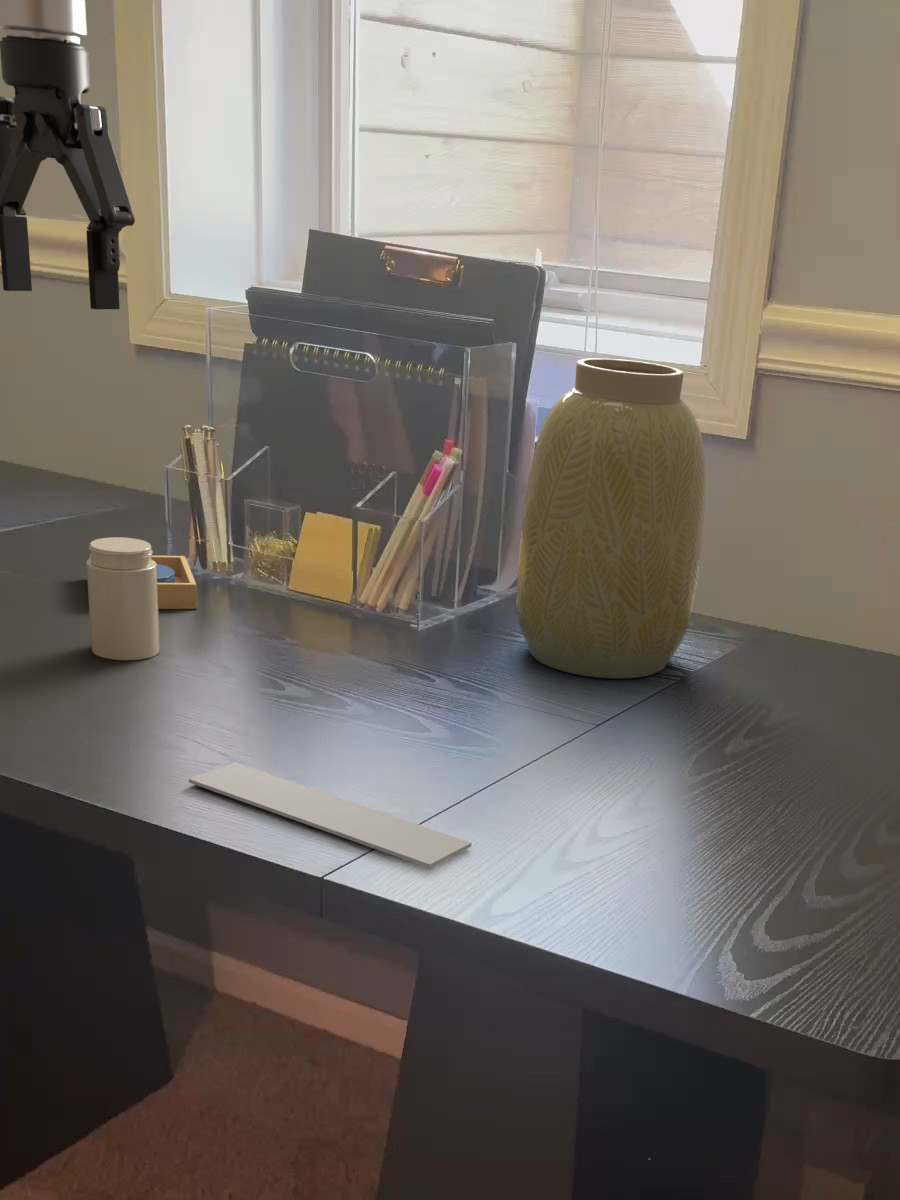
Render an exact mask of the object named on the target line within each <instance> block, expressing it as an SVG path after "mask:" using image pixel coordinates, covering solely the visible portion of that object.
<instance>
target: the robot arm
mask: <svg viewBox="0 0 900 1200" xmlns="http://www.w3.org/2000/svg"><path fill="white" fill-rule="evenodd" d="M0 29H1V30H4V31H5V36H2V37H1V40H0V65H1V78H2V80H3V82H4V84H5V85H7V86H10V87H13V89H14V97H8V96H0V264H1V276H2V277H1V278H2V289H3V291H5V292H33V284H32V271H31V270H32V269H31V256H30V241H29V228H28V217H27V216H26V215H27V212H26V209H24V207H23V206H24V204H25V202H26V199H27V197H28V195H29V192H30V189H31V187H32V185H33V183H34V180H35V177H36V175H37V172H38V170H39V168H40V165H41V163H42V162H43V161H45V160H46V159H49V158H50V159H54V160H55V161H56V162H57V163H58V164H59V165H61V166H62V167H63V169H64V171H65V173H66V175H67V177H68V179H69V181H70V183H71V185H72V187H73V189H74V191H75V193H76V195H77V197H78V199H79V201H80V203H81V206H82V207H83V209H84V211H85V214H86V216H87V218H88V220H89V223H88V225H87V226H86V231H85V232H86V233H85V234H86V249H87V251H86V252H87V265H88V266H87V269H88V270H87V271H88V287H89V304H90V305H89V306H90V307H89V308H90V309H91V310H120V307H121V306H120V286H119V271H120V268H121V267H120V266H121V258H120V257H121V256H120V232H122V230H123V229H124V228H126V227H132V226H134V225H135V222H136V216H135V213H134V210H133V207H132V203H131V201H130V197H129V194H128V191H127V187H126V184H125V181H124V178H123V175H122V171H121V168H120V165H119V162H118V158H117V155H116V152H115V150H114V146H113V143H112V140H111V139H112V138H111V136H110V129H109V121H108V120H109V118H108V113H107V109H106V107H104V106H101V105H93V104H82V98H81V97H82V96H81V95H82V94H87V93H89V92H90V90H91V72H90V54H89V52H90V51H89V50H87V47H86V46H84V45H81V39H86V38H87V36H88V26H87V9H86V0H0ZM117 208H118V209H119V210H117Z"/></svg>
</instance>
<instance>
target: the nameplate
mask: <svg viewBox="0 0 900 1200" xmlns="http://www.w3.org/2000/svg"><path fill="white" fill-rule="evenodd" d="M188 783H189V784H192V785H195V786H197V787H201V788H203V789H206V790H209V791H212V792H214V793H217V794H220V795H223V796H224V797H225V796H226V797H228V798H231V799H233V800H237V801H240V802H242V803H245V804H247V805H250V806H254V807H256V808H260V809H262V810H265V811H268V812H271V813H273V814H276V815H279V816H281V817H285V818H287V819H290V820H293V821H296V822H298V823H301V824H304V825H307V826H310V827H313V828H316V829H318V830H321V831H323V832H327V833H329V834H332V835H335V836H337V837H341V838H344V839H346V840H350V841H352V842H355V843H358V844H360V845H363V846H366V847H369V848H372V849H375V850H377V851H380V852H383V853H386V854H388V855H391V856H394V857H397V858H400V859H402V860H406V861H408V862H411V863H414V864H416V865H419V866H422V867H425V868H427V869H431V868H434V867H435V866H437V865H439V864H441V863H443V862H445V861H446V860H448V859H451V858H452V857H455V856H456V855H458V854H460V853H462V852H463V851H465V850H467V849H470V848H472V842H470V841H468V840H465V839H462V838H459V837H456V836H453V835H450V834H447V833H444V832H441V831H438V830H436V829H432V828H430V827H427V826H424V825H421V824H418V823H415V822H412V821H410V820H406V819H403V818H400V817H399V816H398V817H397V816H394V815H392V814H389V813H386V812H383V811H380V810H377V809H373V808H372V807H369V806H365V805H363V804H359V803H357V802H354V801H350V800H348V799H345V798H342V797H340V796H337V795H333V794H330V793H327V792H324V791H321V790H319V789H315V788H314V787H310V786H307V785H304V784H300V783H298V782H296V781H292V780H289V779H287V778H284V777H280V776H278V775H275V774H272V773H269V772H265V771H264V770H260V769H257V768H254V767H251V766H249V765H245V764H242V763H239V762H237V761H234V762H231V763H228V764H225V765H223V766H220V767H217V768H215V769H212V770H209V771H207V772H203V773H200V774H198V775H195V776H192V777H189V778H188Z"/></svg>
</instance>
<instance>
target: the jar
mask: <svg viewBox="0 0 900 1200" xmlns="http://www.w3.org/2000/svg"><path fill="white" fill-rule="evenodd" d="M88 550H89V552H90V553H89V556H90V555H91V558H90V557H89V558H87V560H86V562H85V565H86V567H85V568H86V581H87V582H86V583H87V598H88V613H89V614H88V615H89V630H90V631H89V632H90V634H89V635H90V647H91V652H92V654H93V655H95V656H97V657H100V658H103V659H108V660H113V661H140V660H147V659H150V658H153V657H155V656H157V655H158V654H160V650H161V649H160V648H161V647H160V623H159V622H160V621H159V609H158V591H157V564H156V562H155V561H154V560H152V556H153V554H154V551H153V549H152V544H151V543H150V542H148V541H146V540H143V539H138V538H133V537H123V536H122V537H121V536H119V537H118V536H116V537H114V536H113V537H102V538H97V539H94V540H92V541H91V542H90V543H89V546H88Z"/></svg>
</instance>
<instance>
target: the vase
mask: <svg viewBox="0 0 900 1200" xmlns="http://www.w3.org/2000/svg"><path fill="white" fill-rule="evenodd" d="M683 379H684V371H682V370H680V369H678V368H676V367H672V366H668V365H663V364H658V363H653V362H645V361H639V360H630V359H618V358H617V359H616V358H584V359H583V358H582V359H579V360H577V361H576V365H575V382H574V387H572V388H571V389H569V390H567V392H566V393H563V395H562V396H561V397H560V398H559V399H558V400H556V402H555V403H554V405H553V406H552V407H551V409H550V410H549V412H547V415H546V417H545V419H544V421H543V423H542V426H541V428H540V431H539V434H538V437H537V441H536V445H535V449H534V452H533V457H532V462H531V465H530V470H529V476H528V481H527V486H526V493H525V498H524V507H523V514H522V520H521V529H520V539H519V549H518V560H517V574H516V575H517V576H516V596H515V597H516V598H515V600H516V601H515V605H516V607H515V608H516V617H517V621H518V624H519V628H520V631H521V634H522V636H523V639H524V641H525V643H526V646H527V648H528V651H529V653H530V655H532V657H533V658H534V659H535V660H537V661H538V662H539V663H541V664H543V665H545V666H547V667H549V668H552V669H554V670H557V671H561V672H565V673H568V674H572V675H578V676H583V677H589V678H597V679H610V680H612V679H613V680H622V679H623V680H627V679H638V678H644V677H648V676H653V675H656V674H657V673H659V672H661V671H663V670H664V669H665V668H666V667H667V665H668V664H669V662H670V661H671V659H672V658H673V656H675V654H676V652H677V651H678V650H679V648H680V646H681V644H682V642H683V641H684V638H685V637H686V634H687V631H688V629H689V625H690V621H691V616H692V611H693V608H694V607H693V606H694V601H695V595H696V588H697V582H698V578H699V577H698V576H699V568H700V560H701V551H702V544H703V543H702V541H703V531H704V521H705V520H704V518H705V517H704V516H705V505H706V504H705V502H706V456H705V444H704V439H703V436H702V433H701V429H700V426H699V424H698V422H697V420H696V417H695V415H694V413H693V412H692V410H691V409H690V407H689V406H688V405H687V403H685V401H684V400H682V398H681V393H682V386H683V381H684V380H683Z"/></svg>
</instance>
